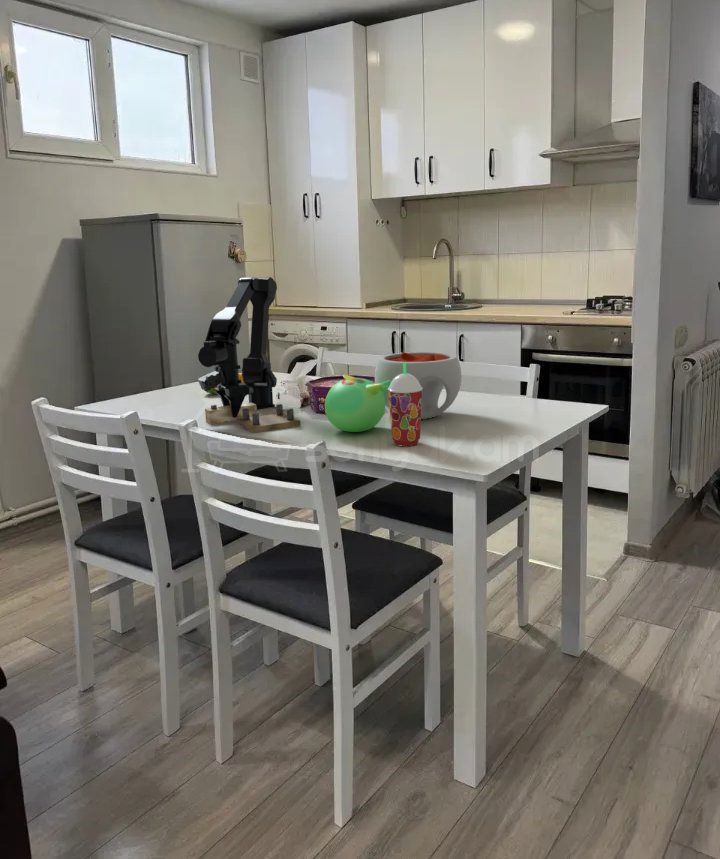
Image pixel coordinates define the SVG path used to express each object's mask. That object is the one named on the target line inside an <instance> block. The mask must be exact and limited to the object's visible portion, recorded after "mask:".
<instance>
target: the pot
mask: <svg viewBox="0 0 720 859" xmlns="http://www.w3.org/2000/svg"><path fill="white" fill-rule="evenodd" d="M403 362H406V373H408V374H411V375H413V376H414V377H416V378H417V380H418V381H419V383H420V385H421V387H422V388H423V390H422V408H421V419H423V420H429V419H432V417H433V418H435V417H437V416H439V415H441V414H443V413H444V412H446V411H447V409H449V408H450V407H451V405H453V403H454V402H455V400H456V398H457V397H458V394H459V392H460V389H461V385H462V379H463V378H462V376H463V375H462V368H461V364H460V361H459V359H458V357H457V355H455V354H452V353H447V352H440V351H439V352H438V351H408V352H397V353H391V354H386V355H382V356H380V357H379V358H378V360H377V362H376V366H375V370H374V383H375V384H378V383H382V382H385V381H388V380H390V381H392V380H393V379H394V378H395V377H396V376H397V375H399V374H402V373H403ZM444 388H445V393H446V394H445V395H446V396H445V400H444V403H443V404H442V405H441V406H440V407H439V398H440V395H441V393H442V391H443V389H444ZM384 397H385V407H386V408H387V409H389V398H388V390H387V391H386V392H385V394H384ZM428 418H429V419H428Z"/></svg>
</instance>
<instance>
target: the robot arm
mask: <svg viewBox="0 0 720 859" xmlns="http://www.w3.org/2000/svg"><path fill="white" fill-rule="evenodd" d="M277 290H278V285H277V282H276V281H275V280H274V278H273V277H272V276H270V277H269V276H267V277H266V276H265V277H264V276H263V277H261V276H260V277H254V276H252V277H251V276H250V277H249V276H248V277H247V276H246V277H241V278H239V279H238V281H237V286H236V287H235V290H234V291H233V294H232V295H231V297H230V299H229V301H227V304H226V306H225V307H224V309H222V310H220V311H219V312H217V313H215V316H214V317H213V318H212V319H211V320H210V323H209V328H208V331H207V334H206V336H205V340H204V342H203V346H202V347H201V348H200V349H199V351H198V354H197V357H198V362H199V363H200V364H201V365H202V366H203V367H206V368H211V367H213V368H214V371H212V372H208V373H207V374H205V375H203V376H200V377H199V378H198V379H197V381H198V384H199V386H200V388H201V389H202V390H203V391H204V390H205V392H206V391H208V390H211V388H212V389H214V387H216V390H213V391H214V392H216V393H217V394H216V395H217V396H219V398H220V401H221V403H222V406H229V405H230V408H231V412H232V416H233V418H236V417H237V415H238V413H239V410H240V408H241V405H242V404H244V403H243V402H244V400H245V398H246V397H247V395H248V403H253V404H256V408H257V409H264V408H271V407H273V408H274V407H276V404H275V403H274V399H273V397H274V395H273V388H276V386H277V383H278V382H277V380H278V379H277V377H276V376H275V374H274V373H273V371H272V365H271V364H272V363H271V362H270V360H269V358H268V356H267V343H268V330H269V328H268V327H269V314H270V312H269V311H270V307H271V306H272V304H273V303H274V301H275V299H276V294H277ZM249 303H251V305H252V314H251V329H250V331H251V332H250V343H249V344H250V345H249V354H248V355H247V357H244V358H243V359H242V367H241V365H240V364H239V363H238V362H239V361H238V347H237V345H239V344H240V340H239V339H238V338H237V336H238V335H239V333H240V329H241V328H242V327H241V326H242V321H241V319H242V318H241V317H242V315H243V313H244V311H245V310H246V308H247V306H248V304H249ZM241 368H242V369H241ZM240 369H241V374H242V377H243V381H244V383H241V379H239V374H240V373H239V371H238V370H240Z"/></svg>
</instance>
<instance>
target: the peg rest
mask: <svg viewBox="0 0 720 859" xmlns="http://www.w3.org/2000/svg"><path fill="white" fill-rule="evenodd" d="M283 408H284V407H283V403H277V404H275V409H276V412H275V413H273V414H264V415H260V413H258V412H257V413H253V414H252V417H249V409H248V408H245V409H242V412H243V418H242V419H237V420H236V425H237V424H238V425H237V426H239V425H240V426H239V427H241V426H242V427H241V428H243V427H244V428H243V429H244V430H246V429H247V430H246V431H248V430H249V431H248V432H250V431H251V433H252V432H255V433H260V432H267V431H268V432H269V431H274V430H275V431H276V430H281V429H287V427H288V428H294V427H293V426H295V427H301V426H302V423H301V419H299V418H296V417H294V413H295V412H294V408H292V407H291V408H290V407H289V408H286V413H284V409H283ZM300 425H301V426H300Z"/></svg>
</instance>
